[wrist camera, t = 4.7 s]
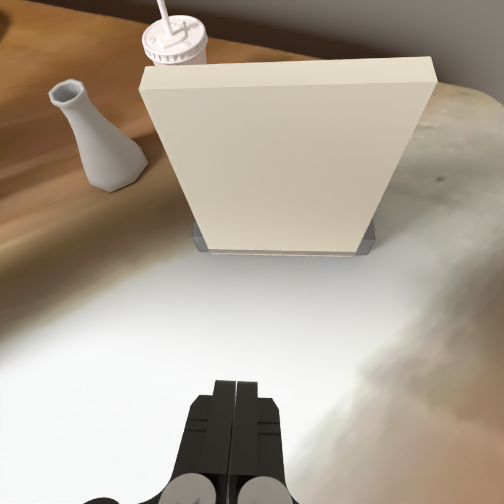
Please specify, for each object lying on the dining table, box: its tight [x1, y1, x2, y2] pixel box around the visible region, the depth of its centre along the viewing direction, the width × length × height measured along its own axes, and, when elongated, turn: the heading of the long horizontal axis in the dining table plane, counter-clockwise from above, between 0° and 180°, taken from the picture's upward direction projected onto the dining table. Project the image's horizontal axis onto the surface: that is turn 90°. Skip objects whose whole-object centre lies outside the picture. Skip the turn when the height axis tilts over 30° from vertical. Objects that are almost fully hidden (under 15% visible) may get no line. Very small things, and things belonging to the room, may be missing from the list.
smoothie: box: [142, 0, 207, 66], centre depth 34 cm, size 6×6×14 cm
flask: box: [49, 79, 148, 192], centre depth 33 cm, size 7×7×10 cm
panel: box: [139, 57, 438, 257], centre depth 21 cm, size 12×2×16 cm, turn 87°
